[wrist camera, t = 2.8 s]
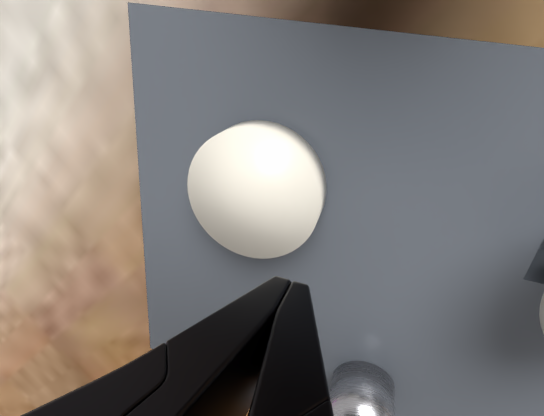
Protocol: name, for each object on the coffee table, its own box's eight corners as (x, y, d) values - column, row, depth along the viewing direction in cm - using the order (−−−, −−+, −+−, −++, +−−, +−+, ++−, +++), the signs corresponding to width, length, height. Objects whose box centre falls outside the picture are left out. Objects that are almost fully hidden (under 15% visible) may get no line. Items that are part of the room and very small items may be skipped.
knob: (346, 117, 16) (332, 142, 12) (326, 224, 18) (308, 272, 14) (232, 99, 17) (187, 116, 13) (227, 201, 19) (187, 241, 15)
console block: (808, 78, 13) (1018, 100, 9) (571, 408, 21) (617, 505, 17) (191, 10, 18) (127, 2, 14) (190, 296, 26) (150, 347, 22)
